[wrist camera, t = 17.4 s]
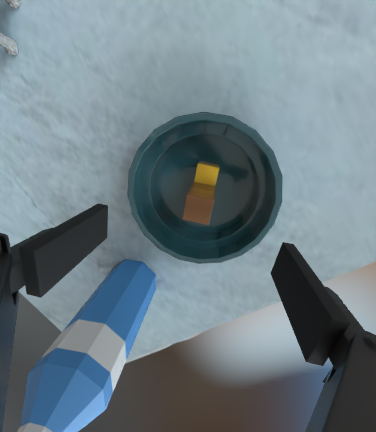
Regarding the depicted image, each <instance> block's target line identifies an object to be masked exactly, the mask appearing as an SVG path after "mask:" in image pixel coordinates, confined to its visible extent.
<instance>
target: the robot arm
mask: <svg viewBox="0 0 376 432" xmlns="http://www.w3.org/2000/svg"><path fill="white" fill-rule="evenodd" d="M107 221H108V206H107V205H102V204H97V205H95V206H93V207H91V208H89V209H87V210H86V211H84V212H82V213H80V214H78V215H77V216H75V217H73V218H71V219H69V220H68V221H66V222H64V223H62V224H60V225H58V226H57V227H55V228H50V229H46V230H43V231H41V232H39V233H37V234H35V235H33V236H31V237H30V238H29V239H26V240H24V241H22V242H20V243H18V244H16V245H15V246H13V247H11V248H10V243H9V238H8V235H6V234H2V233H0V432H2V427H3V420H4V411H5V404H6V396H7V388H8V380H9V372H10V364H11V356H12V349H13V341H14V333H15V326H16V318H17V317H16V316H17V309H18V302H19V291H18V290H19V289H20V288H22V287H23V286H24V285H25V286H26V292H27V294H29V295H33V296H37V297H42V296H43V295H44V294H45V293H47V292H48V291H49V290H50V289H51V288H52V287H53V286H54V285H55V284H56V283H58V282H59V281H60V280H61V279H62V278H63V277H64V276H65V275H66V274H68V273H69V272H70V271H71V270H72V269H73V268H74V267H75V266H76V265H77V264H79V263H80V262H81V261H82V260H83V259H84V258H85V257H86V256H87V255H88V254H90V253H91V252H92V251H93V250H94V249H95V248H96V247H97V246H98V245H100V244H101V243H102V242H103V241H104V240H105V239H106V238H107ZM271 275H272V278H273V281H274V283H275V286H276V288H277V291H278V293H279V296H280V298H281V301H282V303H283V306H284V308H285V311H286V313H287V315H288V318H289V320H290V323H291V326H292V328H293V330H294V333H295V336H296V338H297V341H298V343H299V346H300V348H301V350H302V353H303V356H304V358H305V361H306V362H309V363H313V364H317V365H321V366H323V365H324V363H325V362H326V360H327V359H328V357H329V359H330V361H331V362H332V364H333V367H332V369H331V370H330V372H329V373H328V375H327V376H326V378H325V379H324V380H323V382H324V383H325V384H324V387H323V389H322V392H321V394H320V396H319V399H318V401H317V404H316V406H315V409H314V411H313V414H312V416H311V419H310V421H309V423H308V426H307V428H306V431H305V432H376V335H374V334H372V333H370V332H367V331H365V330H364V329H363V328H362V326H361V325H360V324H359V322H358V321H357V320H356V319H355V317H354V316H353V315H352V313H351V312H350V311H349V310H348V308H347V307H346V306H345V304H343V302H342V300H341V299H340V298H339V296H338V295H337V294H336V293H334V292H333V291H332V290H331V289H329V288H328V287H324V286H323V284H322V283H321V281H320V280H319V279H318V277H317V276H316V274H315V273H314V272H313V270H312V269H311V268H310V266H309V265H308V263H307V262H306V261H305V259H304V258H303V257H302V255H301V254H300V252H299V251H298V250H297V248H296V247H295V246H294V244H289V243H284V242H283V243H282V246H281V248H280V251H279V253H278V256H277V258H276V261H275V264H274V266H273V269H272V271H271Z"/></svg>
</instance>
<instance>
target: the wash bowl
mask: <svg viewBox="0 0 376 432" xmlns="http://www.w3.org/2000/svg"><path fill="white" fill-rule="evenodd" d="M199 161H201V162H206V163H211V164H216V165H219V172H218V176H217V181H216V185H215V198H214V204H213V208H212V213H211V217H210V221H209V225H207V224H202V223H198V222H193V221H188V220H184V219H183V213H184V208H185V202H186V197H187V193H188V192H189V190H190V188H191V186H192V185H193V183H194V179H195V174H196V169H197V164H198V162H199ZM128 198H129V202H130V206H131V210H132V214H133V217H134V219H135V220H136V222H137V224H138V225H139V227H140V229H141V230H142V232H143V234H144V235H145V236H146V237H147V238H148V239H149V240H150V241H151V242H152V243H154V244H155V245H156V246H157V247H158V248H159V249H160V250H162V251H164V252H166V253H168V254H170V255H171V256H173V257H175V258H177V259H180V260H184V261H189V262H193V263H198V264H203V263H221V262H224V261H227V260H230V259H233V258H236V257H239V256H242V255H243V254H245V253H246V252H247V251H249V250H250V249H252V248H253V247H255V246H256V245H257V244H259V243H260V242H261V241H262V239H263V238H264V237H265V235H266V234H267V233H268V232H269V230H270V229H271V228H272V226H273V225H274V223H275V220H276V217H277V214H278V212H279V209H280V206H281V203H282V174H281V171H280V168H279V166H278V163H277V160H276V157H275V154H274V152H273V150H272V149H271V148H270V147H269V145H268V144H267V143H266V142H265V141H264V139H263V138H262V137H261V136H260V135H259V133H258V132H257V131H256V130H254V129H253V128H251V127H249V126H248V125H246V124H244V123H242V122H241V121H239V120H237V119H235V118H234V117H231V116H226V115H221V114H215V113H209V112H200V113H194V114H189V115H183V116H178V117H176V118H174V119H172V120H170V121H169V122H167V123H165V124H163V125H162V126H160V127H158V128H157V129H155V130H154V131H153V132H152V133H151V134H150V135H149V137H148V138H147V139H146V140H145V141H144V142H143V144H142V145H141V146H140V147H139V148H138V150H137V153H136V155H135V158H134V160H133V163H132V165H131V168H130V170H129V179H128Z"/></svg>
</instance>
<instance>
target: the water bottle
mask: <svg viewBox="0 0 376 432" xmlns="http://www.w3.org/2000/svg"><path fill="white" fill-rule="evenodd" d="M155 285H156V275H155V274H154V273H153V272H152V271H151V270H150V269H149V268H148V267H147V266H146V265H145V264H144V263H143V262H139V261H132V260H124V261H122V262H121V263H120V264H119V265H117V266H116V267H115V268H114V269H113V270H112V271H111V272H110V273H109V275H108V276H107V277H106V278H105V280H104V281H103V282H102V283H101V285H100V286H99V287H98V288H97V290H96V291H95V292H94V293H93V295H92V296H91V297H90V298H89V299H88V301H87V302H86V303H85V304H84V306H83V307H82V308H81V309H80V311H79V312H78V313H77V314H76V316H75V317H74V318H73V319H72V320H71V322H70V323H69V324H68V325H67V327H66V328H65V329H64V330H63V332H62V333H61V334H60V336H59V337H58V338H57V339H56V340H55V342H54V343H53V344H52V345H51V346H50V348H49V349H48V350H47V351H46V353H45V354H44V355H43V356H42V358H41V359H40V360H39V361H38V363H37V364H36V365H35V366H34V368H33V369H32V370H31V371H30V372H29V374H28V379H27V386H26V393H25V401H24V408H23V414H22V421H21V427H20V428H19V430H18V431H17V432H78V431H79V430H81V429H82V428H83V427H84V426H86V425H87V424H88V423H89V422H91V421H92V420H93V419H94V418H96V417H97V416H98V415H99V414H101V413H102V412H103V411H104V410H105V409H106V408H107V405H108V403H109V400H110V398H111V396H112V393H113V391H114V388H115V386H116V383H117V381H118V379H119V376H120V373H121V371H122V368H123V367H124V364H125V362H126V359H127V357H128V355H129V352H130V350H131V347H132V345H133V342H134V340H135V338H136V335H137V333H138V330H139V328H140V326H141V323H142V321H143V318H144V316H145V314H146V311H147V309H148V306H149V304H150V302H151V299H152V297H153V294H154V292H155Z"/></svg>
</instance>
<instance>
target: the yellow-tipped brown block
mask: <svg viewBox="0 0 376 432" xmlns="http://www.w3.org/2000/svg"><path fill="white" fill-rule="evenodd" d="M218 172H219V165H216V164H211V163H206V162H201V161H199V162H198V164H197V169H196V174H195V179H194V183H193V185H192V186H191V188H190V190H189V192H188V193H187V197H186V202H185V208H184V213H183V219H184V220H188V221H193V222H198V223H202V224H207V225H209V221H210V217H211V213H212V208H213V204H214V198H215V185H216V181H217V176H218Z"/></svg>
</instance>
